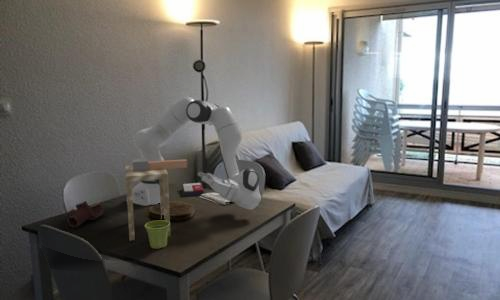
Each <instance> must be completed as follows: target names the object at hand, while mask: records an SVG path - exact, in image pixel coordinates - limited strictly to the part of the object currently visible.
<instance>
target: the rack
mask: <svg viewBox="0 0 500 300" xmlns="http://www.w3.org/2000/svg"><path fill="white" fill-rule="evenodd" d="M167 170H168V169H156V170H149V171H138V172H133V164H131V165H130V164H129V165H125V184H126V185H125V186H126V200H127V201H126V203H127V205H126V206H127V218H128V219H127V220H128V221H127V222H128V234H129V235H128V237H129V242H130V241H131V242H132V240H133V241H135V240H136V238H135V237H136V236H135V221H134V220H135V218H134V203H133V199H132V189H133V184H132V182H141V181H142V180H155V179H159V183H160V204H159V205H160V220H161V219H162V215H164V219H165V221H168V222H170V223H171V214H170V212H171V210H170V196H169V195H170V191H169V190H170V189H169V188H170V187H169V173H168V171H167ZM168 237H171V224H170V225H169V229H168V236H167V238H168Z"/></svg>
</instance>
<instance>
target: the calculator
mask: <svg viewBox="0 0 500 300" xmlns="http://www.w3.org/2000/svg"><path fill="white" fill-rule="evenodd" d="M181 190H182V194H183V197H184V198H185V197H200V196H201V195H202V194H205V191H204V188H203V185H202V183H200V182H193V183H182V184H181ZM201 197H202V196H201Z"/></svg>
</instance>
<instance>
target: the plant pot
mask: <svg viewBox="0 0 500 300" xmlns="http://www.w3.org/2000/svg"><path fill="white" fill-rule="evenodd" d="M169 225H170V226H171V221H170V222H168V221H165V220H161V219H160V220H152V221H148V222H146V223H145V224H144V228H145V229H146V232H147V235H148V241H149V246H150V247H151V248H152V249H156V250H157V249H161V248H165V247H166V246H167V245H168V237H169V236H168V229H169ZM167 236H168V237H167Z"/></svg>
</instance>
